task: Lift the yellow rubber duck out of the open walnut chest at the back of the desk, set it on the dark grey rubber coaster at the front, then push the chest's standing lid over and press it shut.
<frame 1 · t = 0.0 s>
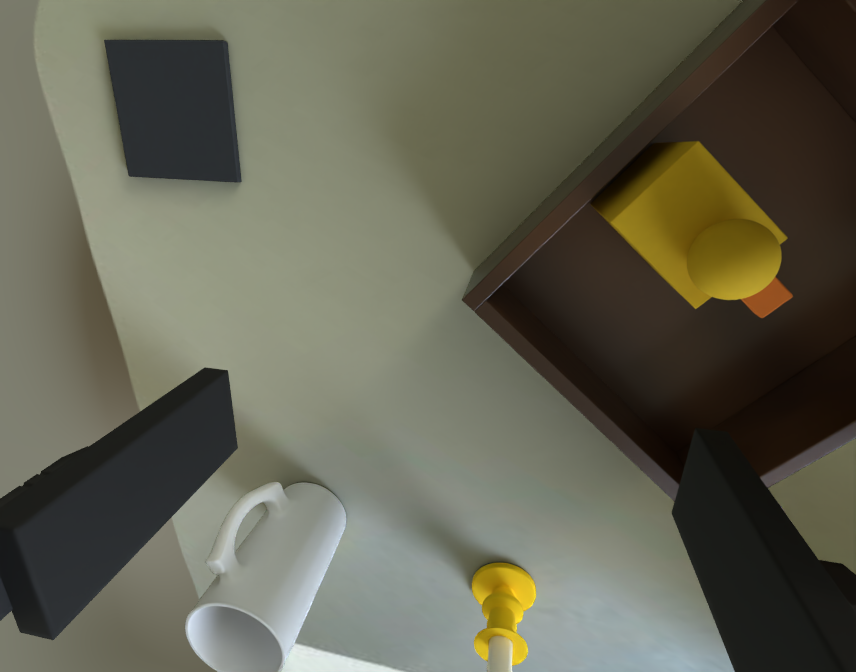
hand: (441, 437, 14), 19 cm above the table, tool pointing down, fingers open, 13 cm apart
coaster: (177, 113, 31), on the table
mug: (306, 494, 41), on the table
candle: (503, 584, 40), on the table
duck: (655, 209, 27), point 1 cm above the table, touching chest
chest: (706, 264, 28), on the table
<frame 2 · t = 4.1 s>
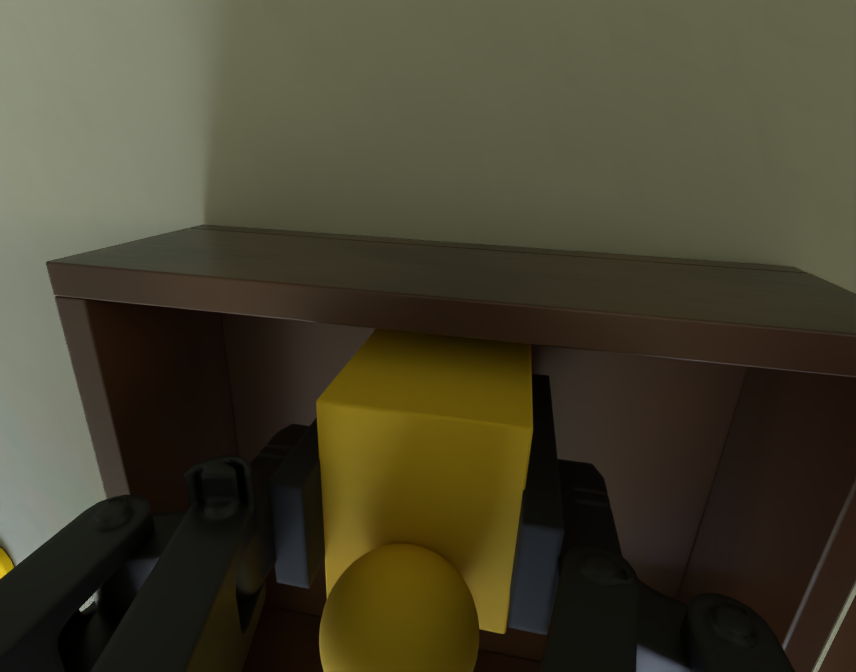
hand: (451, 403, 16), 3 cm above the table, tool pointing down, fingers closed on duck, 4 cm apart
duck: (458, 380, 17), point 1 cm above the table, touching chest, gripper
chest: (454, 474, 20), on the table
when the fingers open (2 cm above the table, at t = 11.8 s): duck stays where it is, resting on coaster.
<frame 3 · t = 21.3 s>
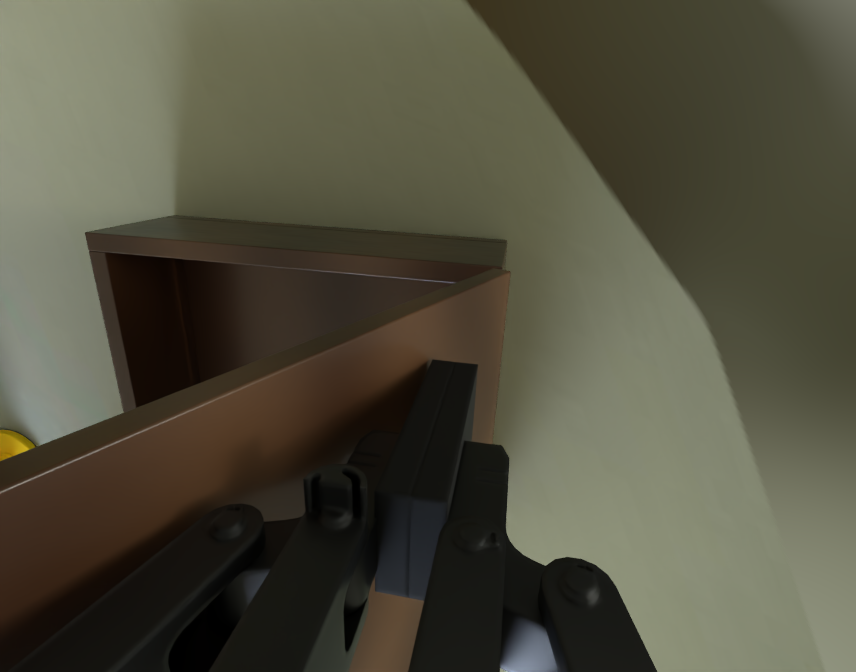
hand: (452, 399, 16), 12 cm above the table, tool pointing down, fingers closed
candle: (19, 455, 39), on the table
lid: (326, 627, 15), point 16 cm above the table, hinge at 66.7°, touching gripper
chest: (335, 376, 31), on the table
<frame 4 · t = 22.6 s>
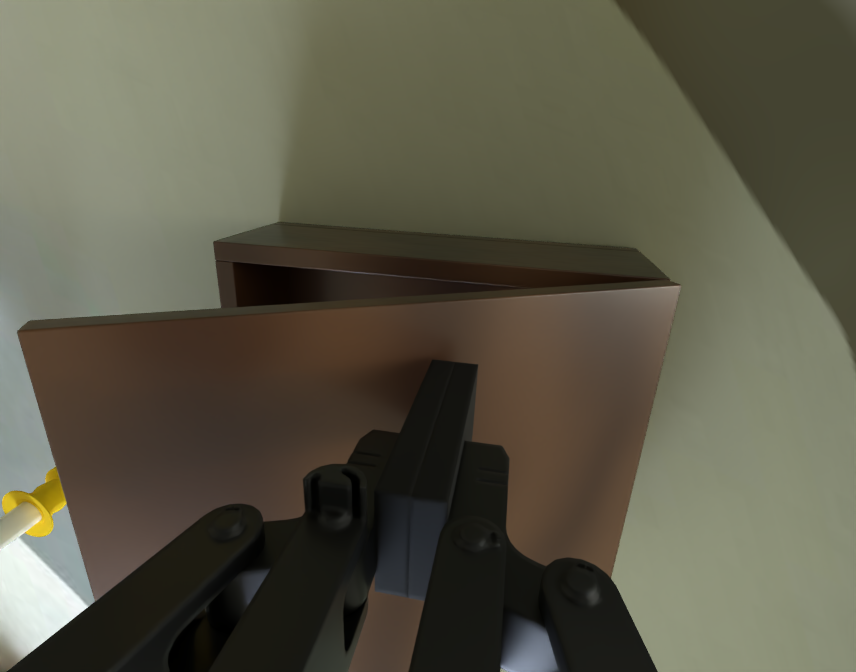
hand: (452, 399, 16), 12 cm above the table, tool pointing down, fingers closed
candle: (93, 465, 38), on the table
lid: (411, 531, 19), point 12 cm above the table, hinge at 30.3°
chest: (438, 387, 30), on the table
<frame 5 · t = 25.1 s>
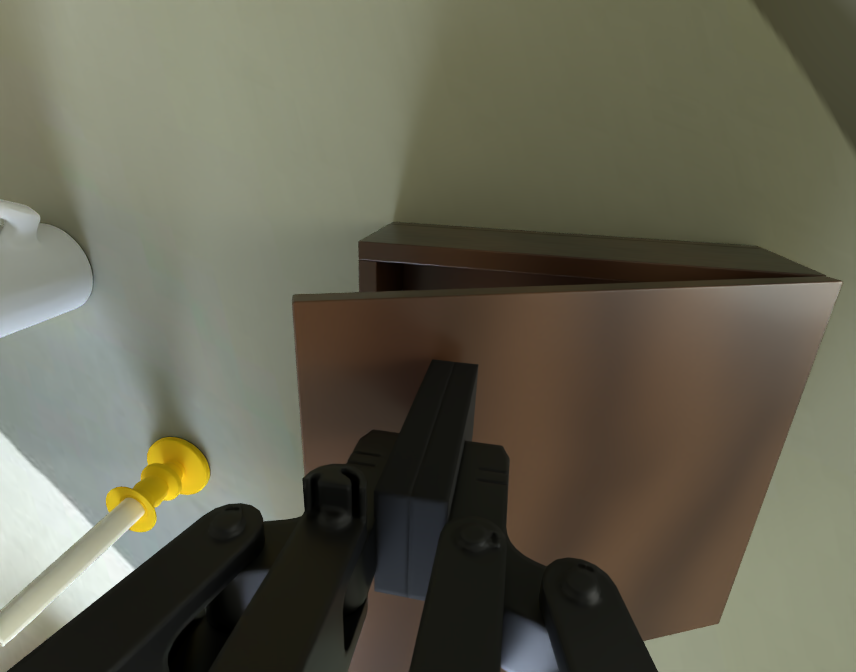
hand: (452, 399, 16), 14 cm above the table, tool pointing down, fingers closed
mug: (63, 248, 34), on the table
candle: (182, 462, 39), on the table
lid: (564, 504, 20), point 11 cm above the table, hinge at 24.4°
chest: (543, 383, 31), on the table
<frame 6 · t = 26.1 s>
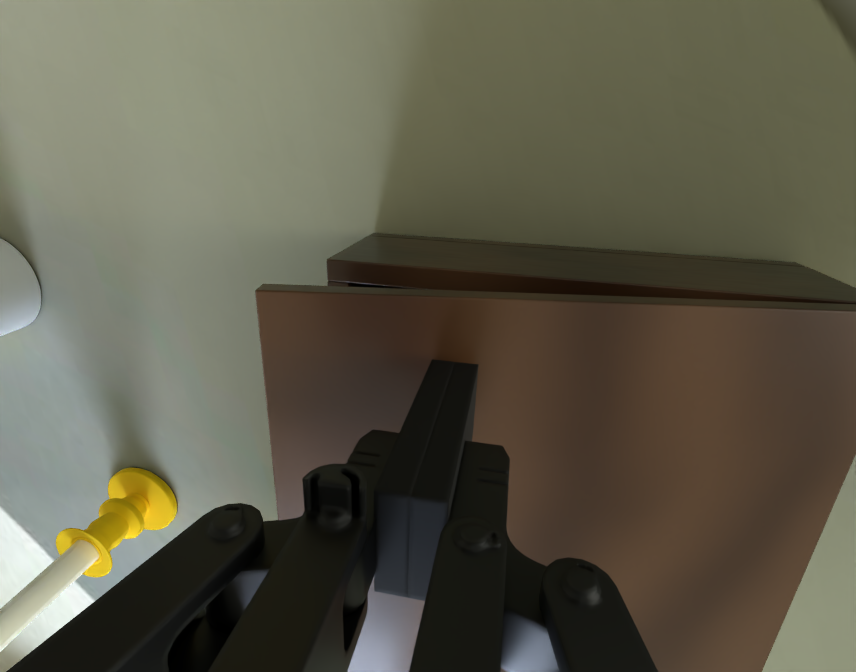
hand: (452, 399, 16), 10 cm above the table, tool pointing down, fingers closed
mug: (8, 260, 30), on the table
candle: (147, 495, 35), on the table
lid: (547, 528, 19), point 9 cm above the table, hinge at 10.6°, touching gripper
chest: (546, 415, 27), on the table
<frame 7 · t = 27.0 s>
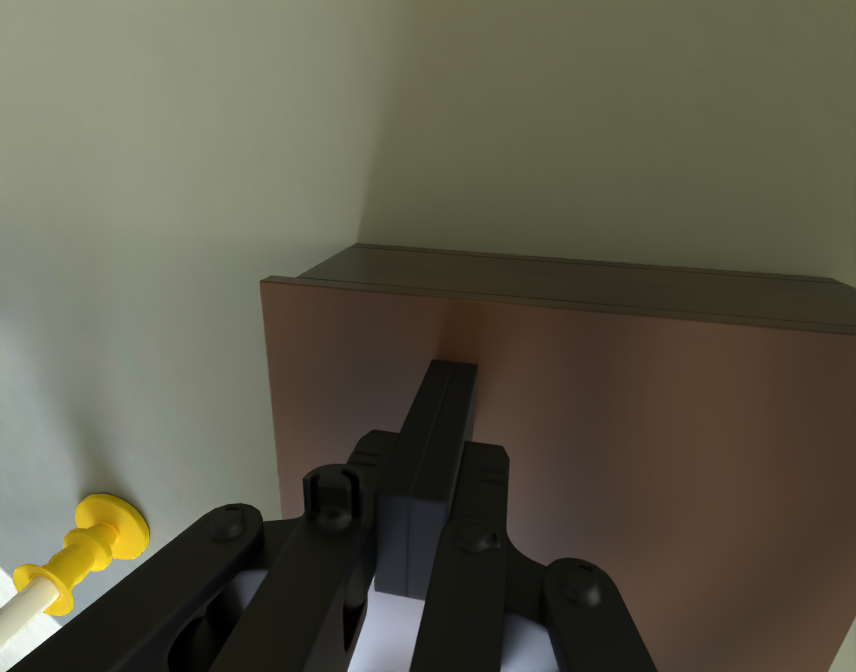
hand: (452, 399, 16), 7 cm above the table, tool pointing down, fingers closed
candle: (117, 522, 33), on the table
lid: (543, 544, 18), point 7 cm above the table, hinge at -0.2°, touching chest, gripper
chest: (548, 444, 24), on the table
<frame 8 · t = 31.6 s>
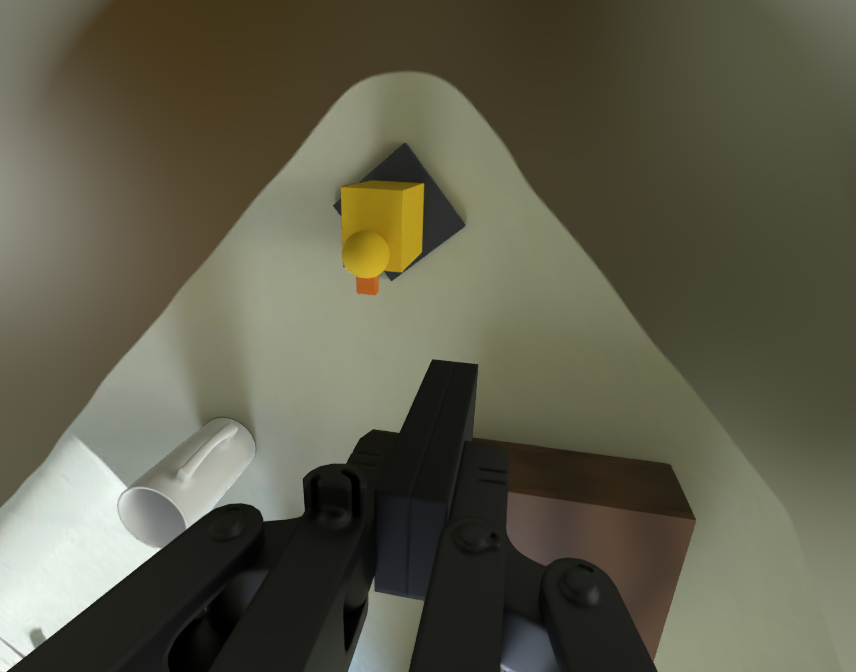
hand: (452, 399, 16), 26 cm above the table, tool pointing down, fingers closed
coaster: (399, 214, 41), on the table
mug: (236, 431, 52), on the table
duck: (397, 216, 40), resting on coaster
lid: (544, 581, 43), point 7 cm above the table, hinge at -0.2°, touching chest
chest: (546, 527, 49), on the table
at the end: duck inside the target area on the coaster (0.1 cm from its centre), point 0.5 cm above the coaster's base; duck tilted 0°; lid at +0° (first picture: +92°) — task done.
